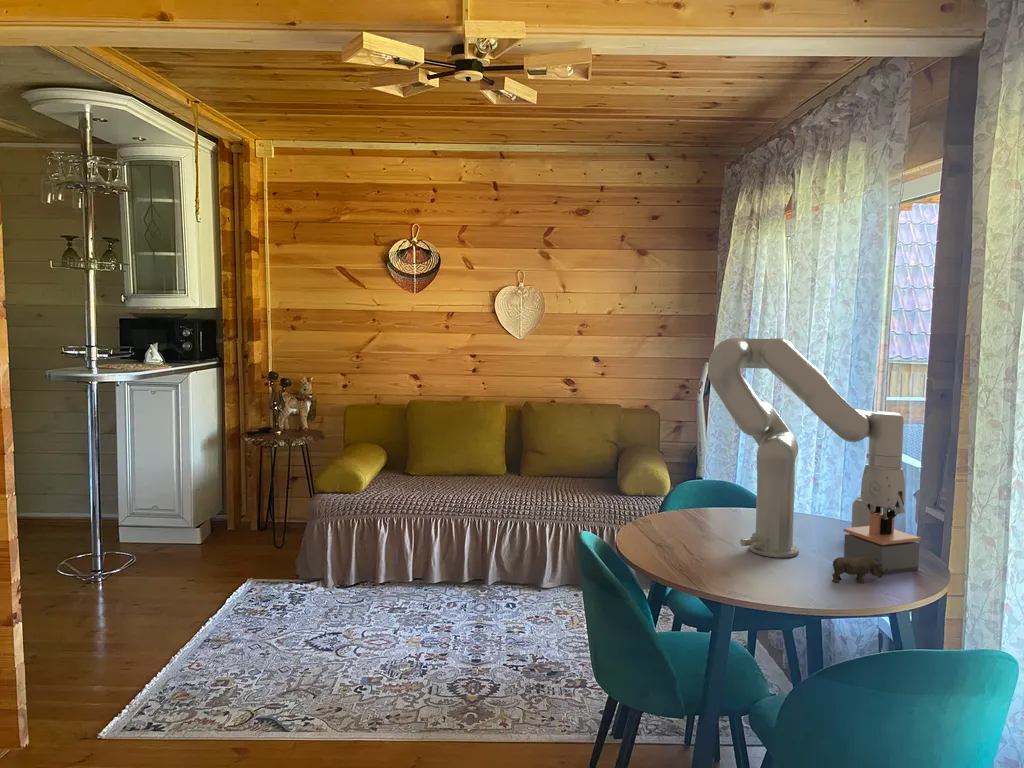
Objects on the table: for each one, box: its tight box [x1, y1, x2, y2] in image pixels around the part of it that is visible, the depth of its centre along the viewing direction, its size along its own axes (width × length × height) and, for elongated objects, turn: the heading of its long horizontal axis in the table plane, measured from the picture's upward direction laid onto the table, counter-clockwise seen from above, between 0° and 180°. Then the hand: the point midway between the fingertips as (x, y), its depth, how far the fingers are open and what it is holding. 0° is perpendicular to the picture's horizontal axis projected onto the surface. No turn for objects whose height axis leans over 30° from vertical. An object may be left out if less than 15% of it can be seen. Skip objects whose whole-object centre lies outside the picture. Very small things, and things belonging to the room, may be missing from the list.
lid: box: [842, 511, 922, 545], centre depth 185 cm, size 12×12×7 cm
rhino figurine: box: [831, 556, 888, 585], centre depth 174 cm, size 4×14×6 cm, turn 90°
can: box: [850, 496, 870, 528], centre depth 207 cm, size 8×8×12 cm
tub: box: [843, 533, 920, 576], centre depth 185 cm, size 12×12×7 cm
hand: (881, 532), depth 185 cm, fingers closed on lid
